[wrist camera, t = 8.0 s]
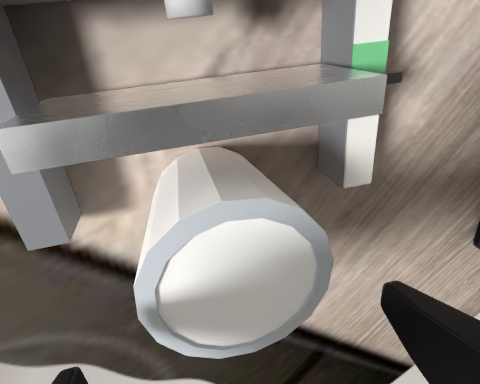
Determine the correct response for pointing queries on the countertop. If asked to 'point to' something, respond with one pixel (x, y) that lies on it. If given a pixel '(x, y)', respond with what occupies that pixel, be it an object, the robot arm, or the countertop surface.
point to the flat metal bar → (187, 114)
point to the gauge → (185, 6)
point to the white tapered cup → (227, 258)
